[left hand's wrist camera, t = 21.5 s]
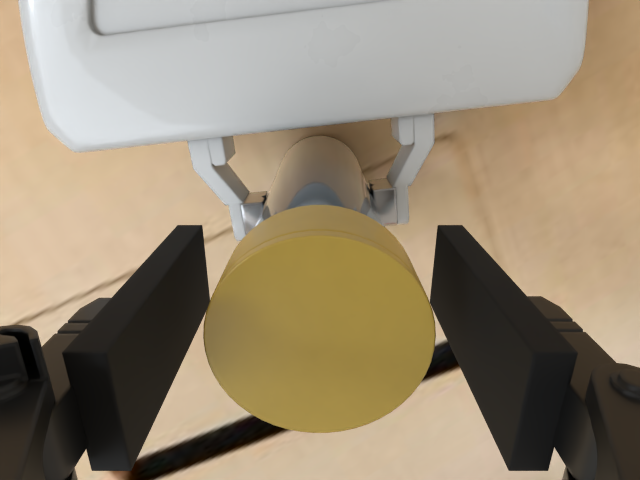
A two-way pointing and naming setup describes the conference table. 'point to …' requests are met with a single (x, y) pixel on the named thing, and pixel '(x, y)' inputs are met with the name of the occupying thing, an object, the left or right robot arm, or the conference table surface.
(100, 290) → the conference table surface
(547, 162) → the conference table surface
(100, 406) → the left robot arm
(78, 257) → the conference table surface
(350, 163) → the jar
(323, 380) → the lid
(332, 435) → the conference table surface
